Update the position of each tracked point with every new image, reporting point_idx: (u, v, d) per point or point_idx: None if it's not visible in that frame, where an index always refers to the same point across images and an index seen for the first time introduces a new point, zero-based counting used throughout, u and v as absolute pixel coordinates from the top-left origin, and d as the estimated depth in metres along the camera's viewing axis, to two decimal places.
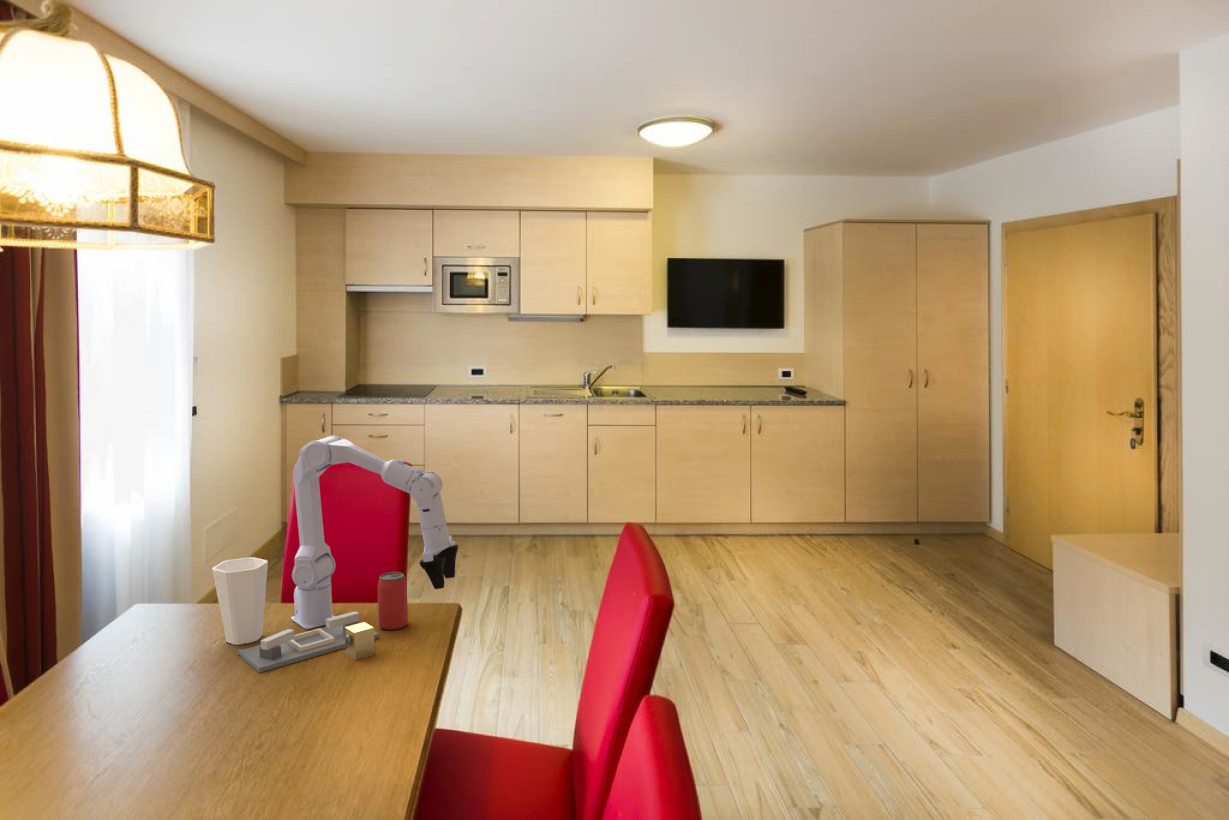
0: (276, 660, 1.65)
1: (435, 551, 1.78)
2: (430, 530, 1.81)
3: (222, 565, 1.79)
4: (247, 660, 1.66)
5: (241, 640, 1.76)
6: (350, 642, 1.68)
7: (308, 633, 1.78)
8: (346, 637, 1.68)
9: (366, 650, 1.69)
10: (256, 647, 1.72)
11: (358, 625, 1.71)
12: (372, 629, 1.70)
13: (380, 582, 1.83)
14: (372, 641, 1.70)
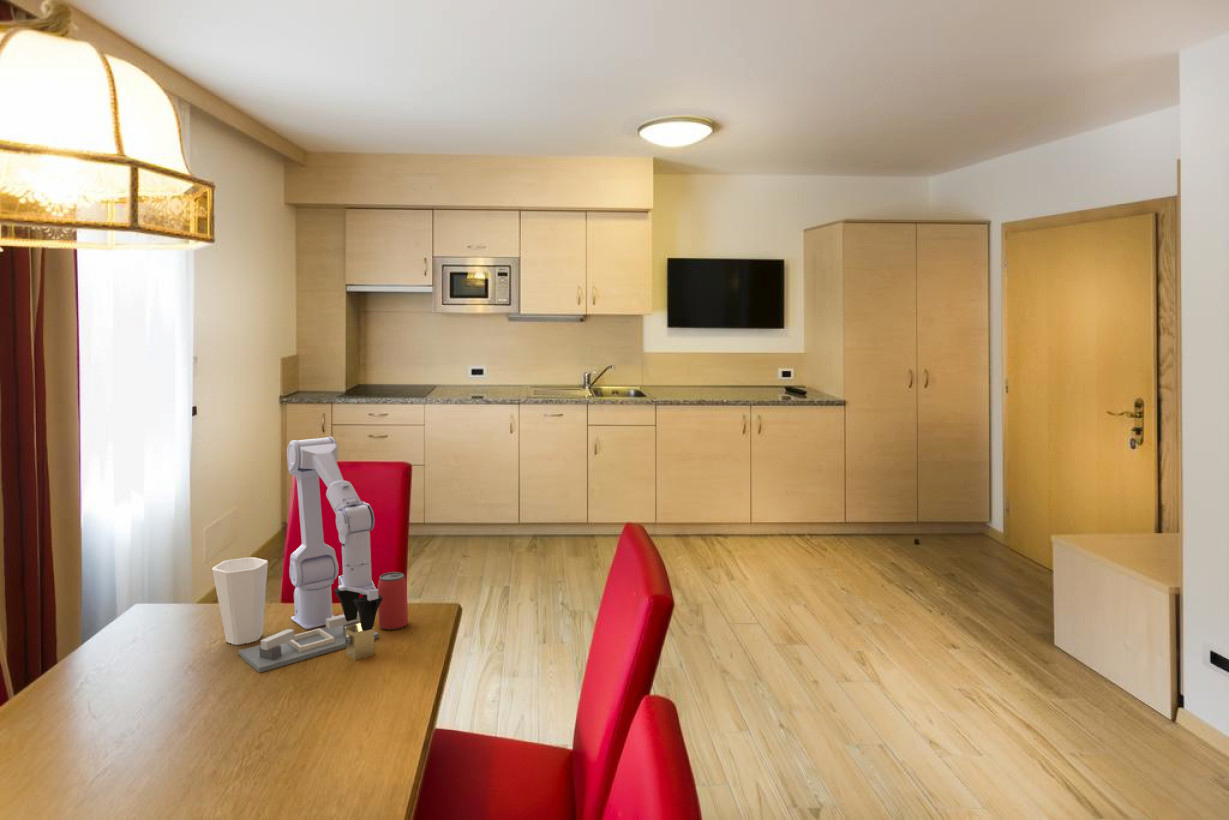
0: (276, 660, 1.65)
1: (340, 580, 1.72)
2: None
3: (222, 565, 1.79)
4: (247, 660, 1.66)
5: (241, 640, 1.76)
6: (350, 642, 1.68)
7: (308, 633, 1.78)
8: (346, 637, 1.68)
9: (366, 650, 1.69)
10: (256, 647, 1.72)
11: (358, 625, 1.71)
12: (372, 629, 1.70)
13: (380, 582, 1.83)
14: (372, 641, 1.70)
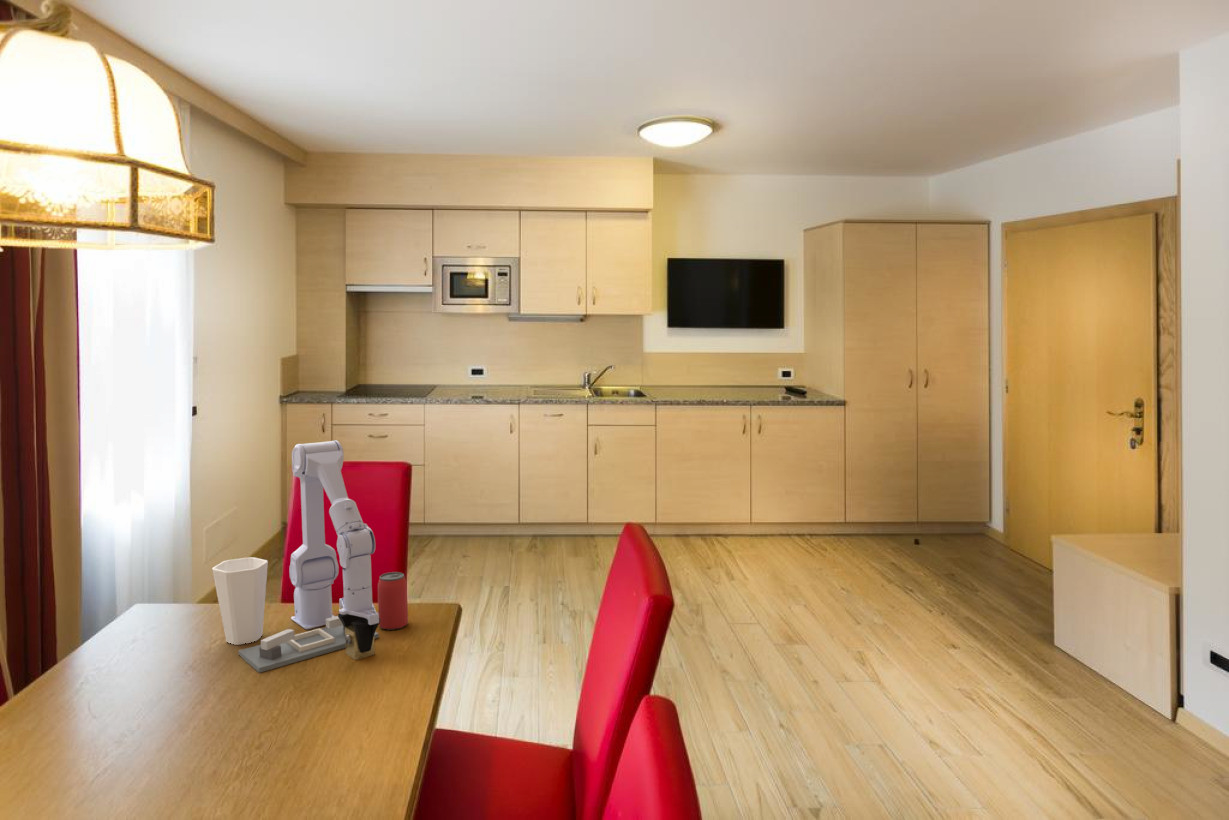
0: (276, 660, 1.65)
1: (341, 602, 1.72)
2: None
3: (222, 565, 1.79)
4: (247, 660, 1.66)
5: (241, 640, 1.76)
6: (350, 642, 1.68)
7: (308, 633, 1.78)
8: (346, 637, 1.68)
9: None
10: (256, 647, 1.72)
11: None
12: None
13: (380, 582, 1.83)
14: None
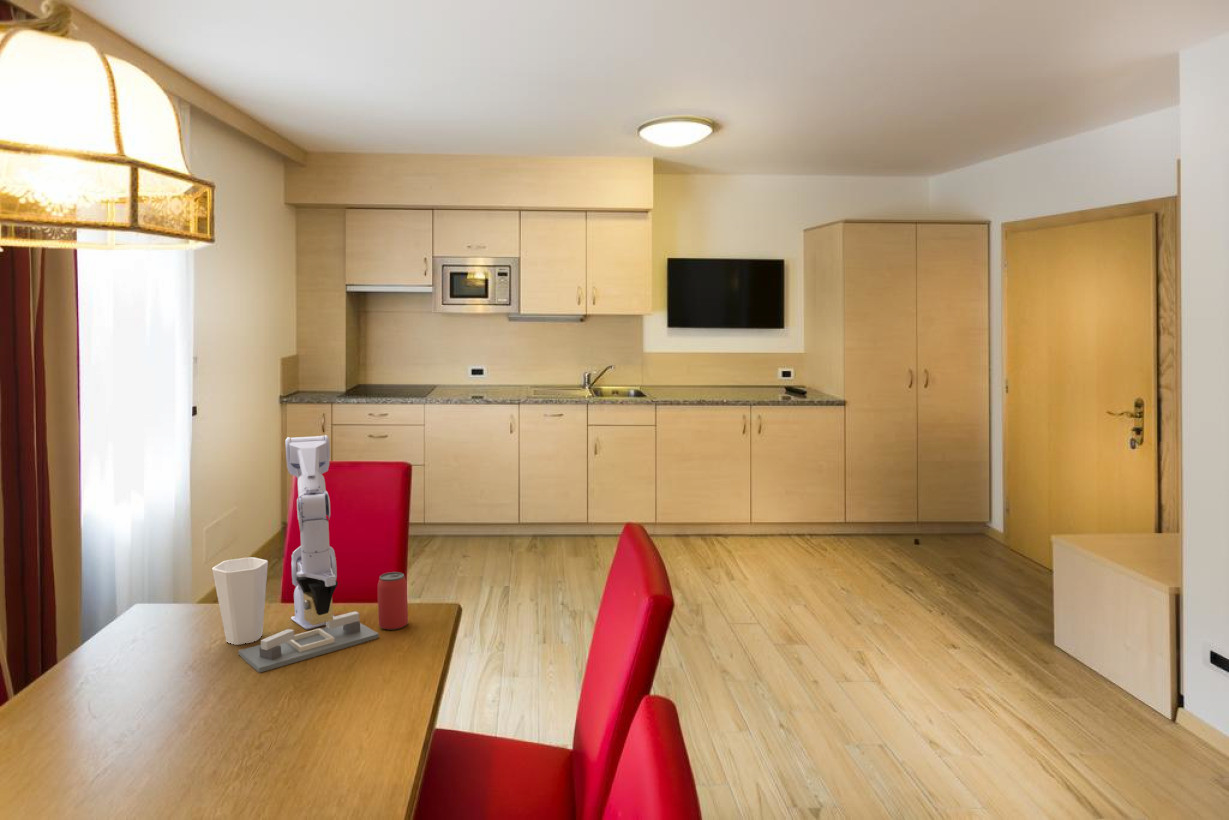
0: (276, 660, 1.65)
1: (300, 566, 1.75)
2: None
3: (222, 565, 1.79)
4: (247, 660, 1.66)
5: (241, 640, 1.76)
6: (308, 607, 1.71)
7: (308, 633, 1.78)
8: (304, 602, 1.71)
9: (325, 615, 1.72)
10: (256, 647, 1.72)
11: None
12: None
13: (380, 582, 1.83)
14: (330, 606, 1.73)
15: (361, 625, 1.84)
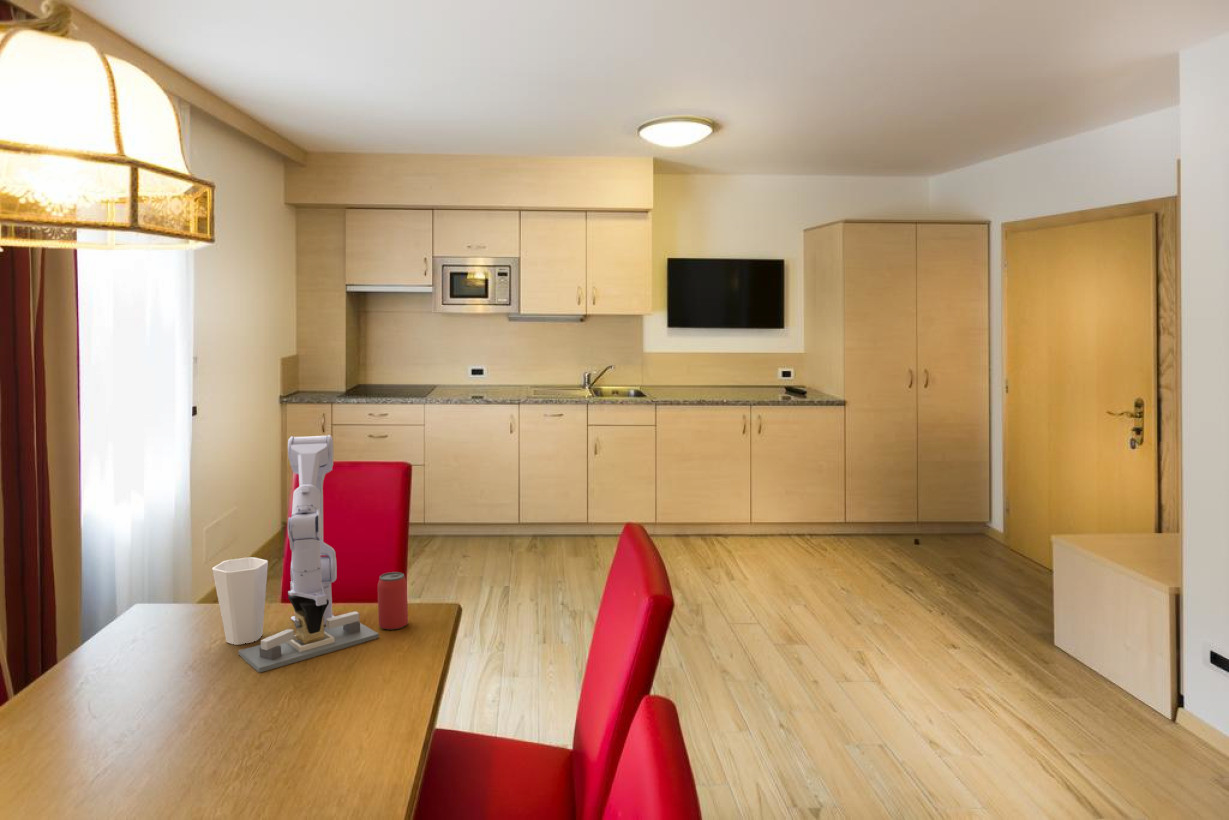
0: (276, 660, 1.65)
1: (292, 585, 1.76)
2: None
3: (222, 565, 1.79)
4: (247, 660, 1.66)
5: (241, 640, 1.76)
6: (299, 626, 1.72)
7: None
8: (296, 621, 1.72)
9: (316, 634, 1.73)
10: (256, 647, 1.72)
11: None
12: None
13: (380, 582, 1.83)
14: (321, 625, 1.74)
15: (361, 625, 1.84)
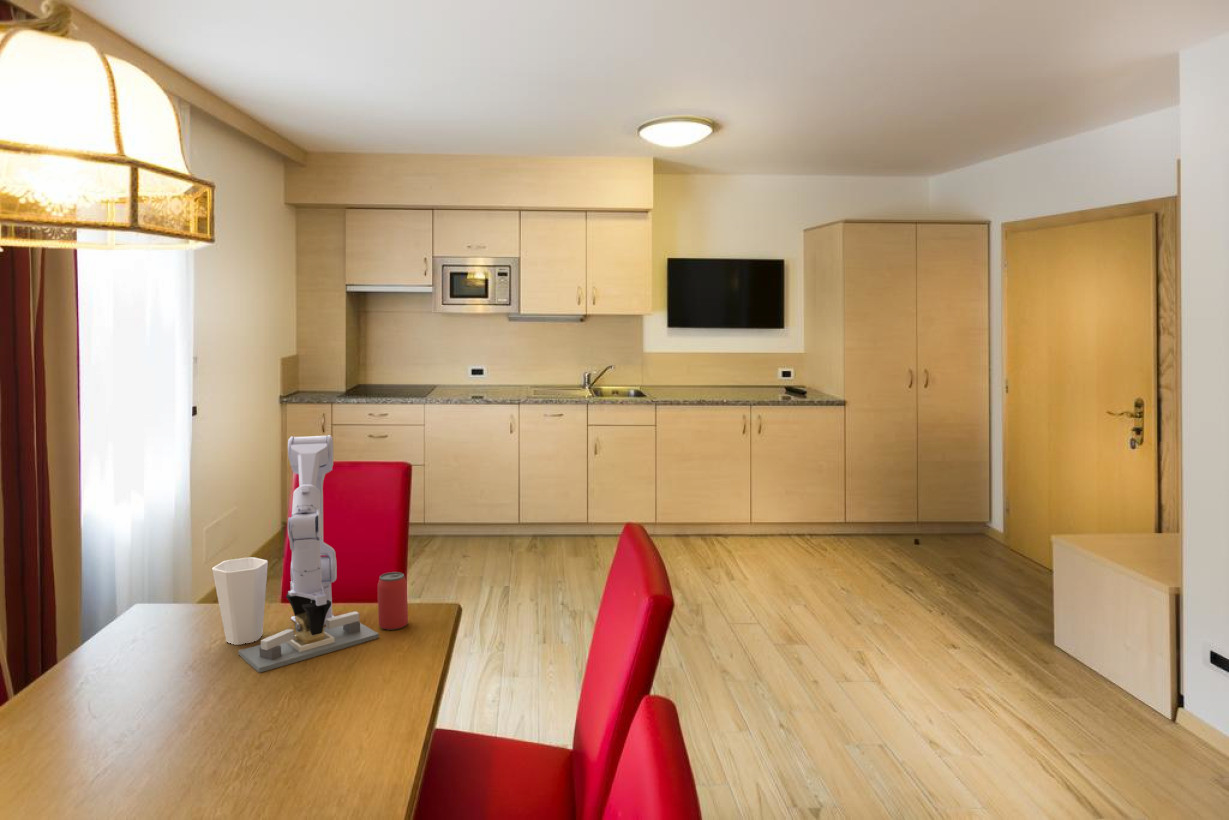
0: (276, 660, 1.65)
1: (292, 585, 1.76)
2: None
3: (222, 565, 1.79)
4: (247, 660, 1.66)
5: (241, 640, 1.76)
6: (300, 629, 1.72)
7: None
8: (296, 625, 1.72)
9: (316, 637, 1.73)
10: (256, 647, 1.72)
11: None
12: None
13: (380, 582, 1.83)
14: None
15: (361, 625, 1.84)
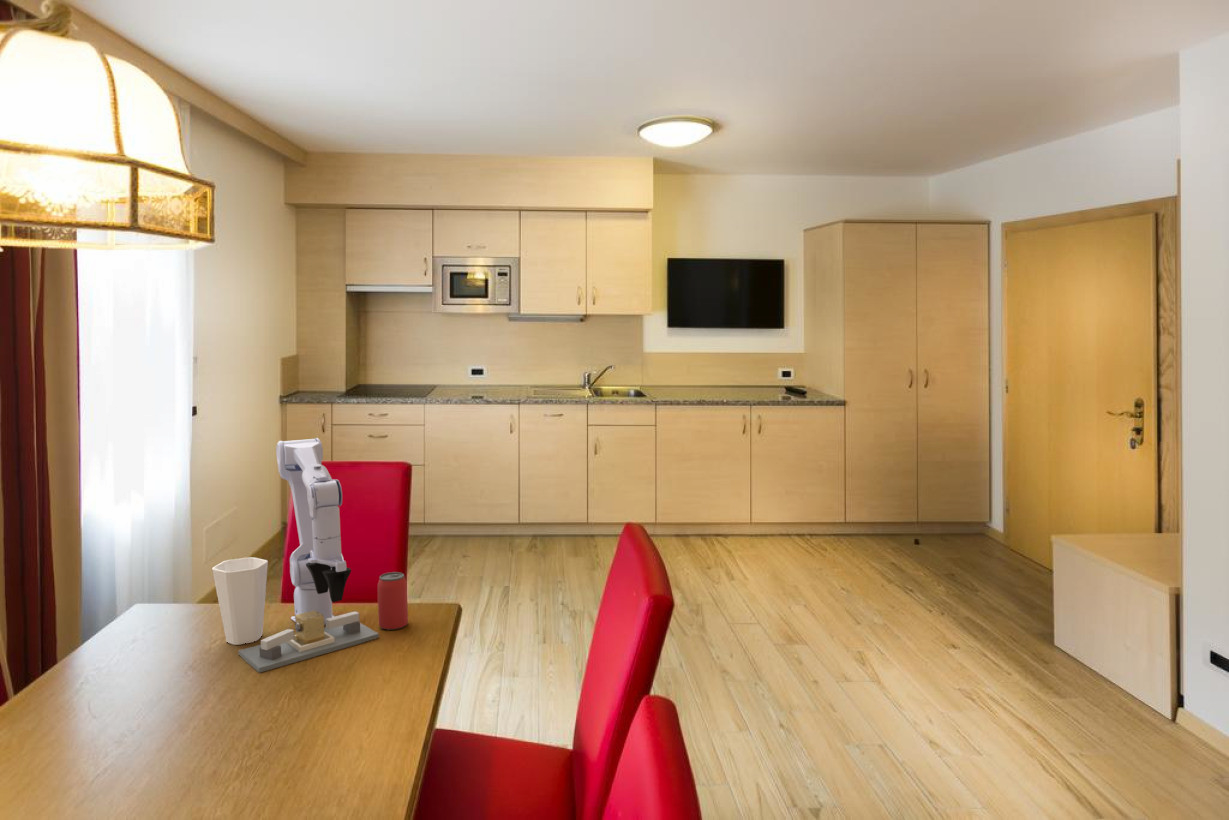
0: (276, 660, 1.65)
1: (312, 554, 1.78)
2: None
3: (222, 565, 1.79)
4: (247, 660, 1.66)
5: (241, 640, 1.76)
6: (300, 629, 1.72)
7: None
8: (296, 625, 1.72)
9: (316, 637, 1.73)
10: (256, 647, 1.72)
11: (308, 613, 1.75)
12: (322, 617, 1.74)
13: (380, 582, 1.83)
14: (322, 629, 1.74)
15: (361, 625, 1.84)
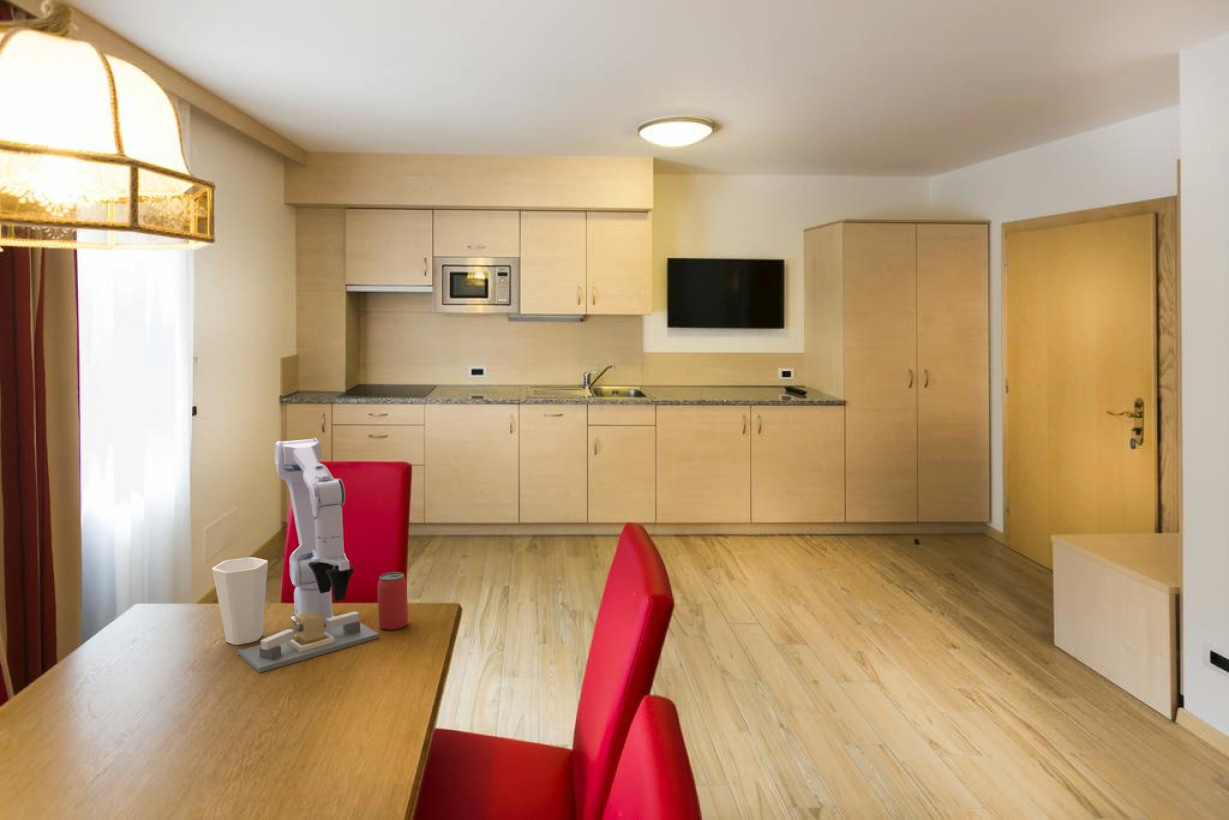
0: (276, 660, 1.65)
1: (314, 553, 1.78)
2: None
3: (222, 565, 1.79)
4: (247, 660, 1.66)
5: (241, 640, 1.76)
6: (300, 629, 1.72)
7: None
8: (296, 625, 1.72)
9: (316, 637, 1.73)
10: (256, 647, 1.72)
11: (308, 613, 1.75)
12: (322, 617, 1.74)
13: (380, 582, 1.83)
14: (322, 629, 1.74)
15: (361, 625, 1.84)
